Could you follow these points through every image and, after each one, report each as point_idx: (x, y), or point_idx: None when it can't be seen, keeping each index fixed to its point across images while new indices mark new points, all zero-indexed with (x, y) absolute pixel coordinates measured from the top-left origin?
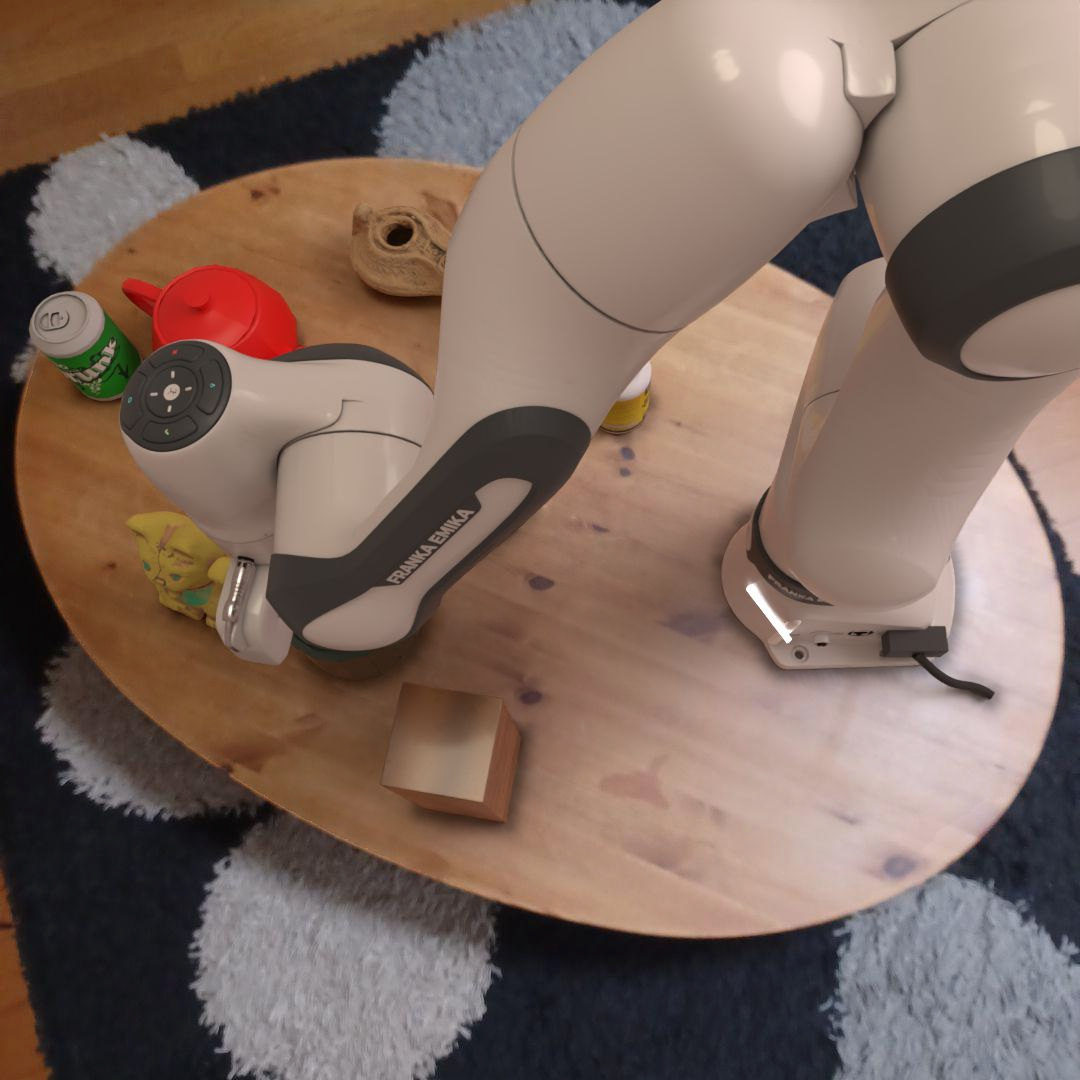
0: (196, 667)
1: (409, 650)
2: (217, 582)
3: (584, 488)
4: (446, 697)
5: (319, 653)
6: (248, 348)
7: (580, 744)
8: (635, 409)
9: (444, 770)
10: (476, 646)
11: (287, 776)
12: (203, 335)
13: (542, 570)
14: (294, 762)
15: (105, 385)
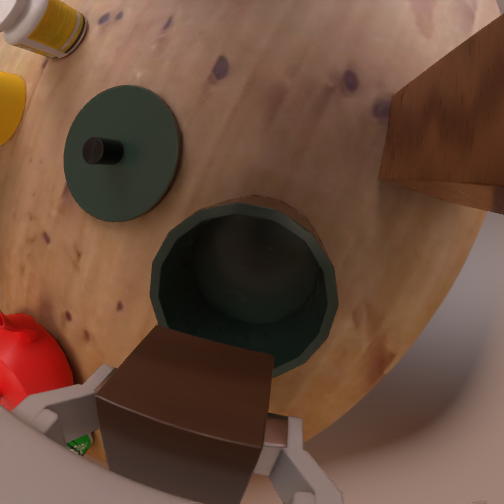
0: (292, 406)
1: (296, 210)
2: None
3: (127, 43)
4: None
5: (323, 329)
6: (14, 363)
7: (394, 44)
8: (63, 4)
9: None
10: (292, 134)
11: (405, 331)
12: (15, 396)
13: (206, 67)
14: (394, 326)
15: (79, 441)
